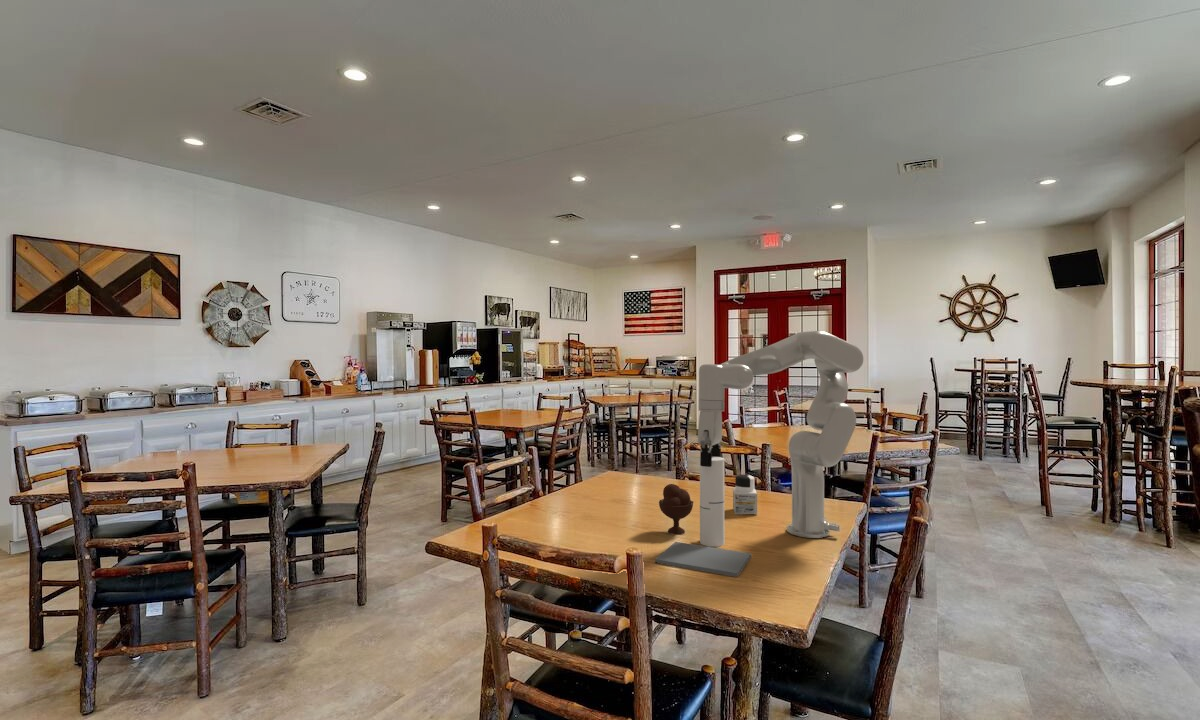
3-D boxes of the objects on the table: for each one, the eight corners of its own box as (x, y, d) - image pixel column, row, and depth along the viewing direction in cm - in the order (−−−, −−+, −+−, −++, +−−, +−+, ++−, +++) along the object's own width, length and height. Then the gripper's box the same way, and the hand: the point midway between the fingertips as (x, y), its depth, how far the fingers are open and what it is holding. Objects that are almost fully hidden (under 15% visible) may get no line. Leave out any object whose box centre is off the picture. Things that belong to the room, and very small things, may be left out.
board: (751, 557, 155) (751, 553, 155) (737, 577, 141) (737, 573, 141) (675, 545, 165) (675, 541, 165) (655, 562, 151) (655, 559, 151)
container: (734, 514, 197) (734, 477, 197) (733, 508, 205) (733, 472, 205) (757, 515, 196) (757, 478, 196) (755, 509, 203) (754, 473, 203)
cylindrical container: (724, 547, 163) (724, 461, 163) (699, 545, 164) (699, 460, 164) (724, 539, 170) (724, 456, 170) (700, 538, 171) (700, 456, 171)
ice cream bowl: (670, 539, 170) (670, 489, 170) (652, 529, 180) (652, 482, 180) (700, 534, 174) (700, 486, 174) (681, 525, 185) (681, 479, 185)
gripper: (707, 403, 176) (706, 458, 176) (690, 407, 161) (689, 467, 161) (731, 404, 173) (730, 460, 173) (715, 408, 157) (715, 469, 157)
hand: (710, 463), depth 167 cm, fingers open, 9 cm apart
